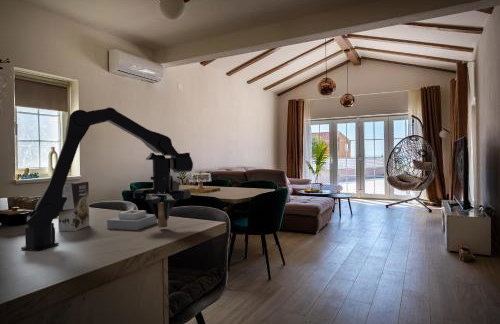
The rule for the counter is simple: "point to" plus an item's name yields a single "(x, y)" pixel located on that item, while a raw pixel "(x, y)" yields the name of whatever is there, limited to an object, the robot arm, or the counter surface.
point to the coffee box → (75, 207)
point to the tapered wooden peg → (161, 215)
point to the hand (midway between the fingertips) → (162, 219)
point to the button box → (131, 220)
